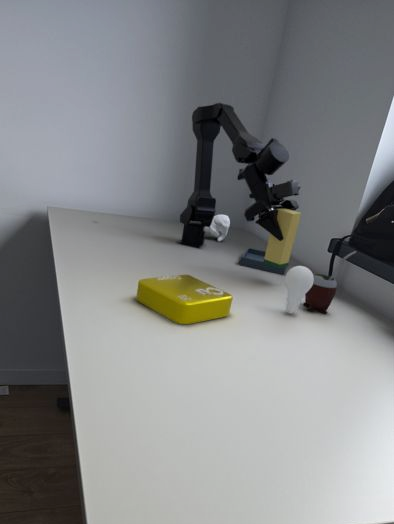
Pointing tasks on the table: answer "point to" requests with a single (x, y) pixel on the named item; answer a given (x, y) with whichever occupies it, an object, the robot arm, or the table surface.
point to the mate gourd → (322, 290)
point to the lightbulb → (297, 286)
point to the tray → (258, 261)
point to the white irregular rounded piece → (219, 226)
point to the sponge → (281, 250)
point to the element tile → (184, 298)
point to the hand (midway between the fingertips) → (286, 239)
